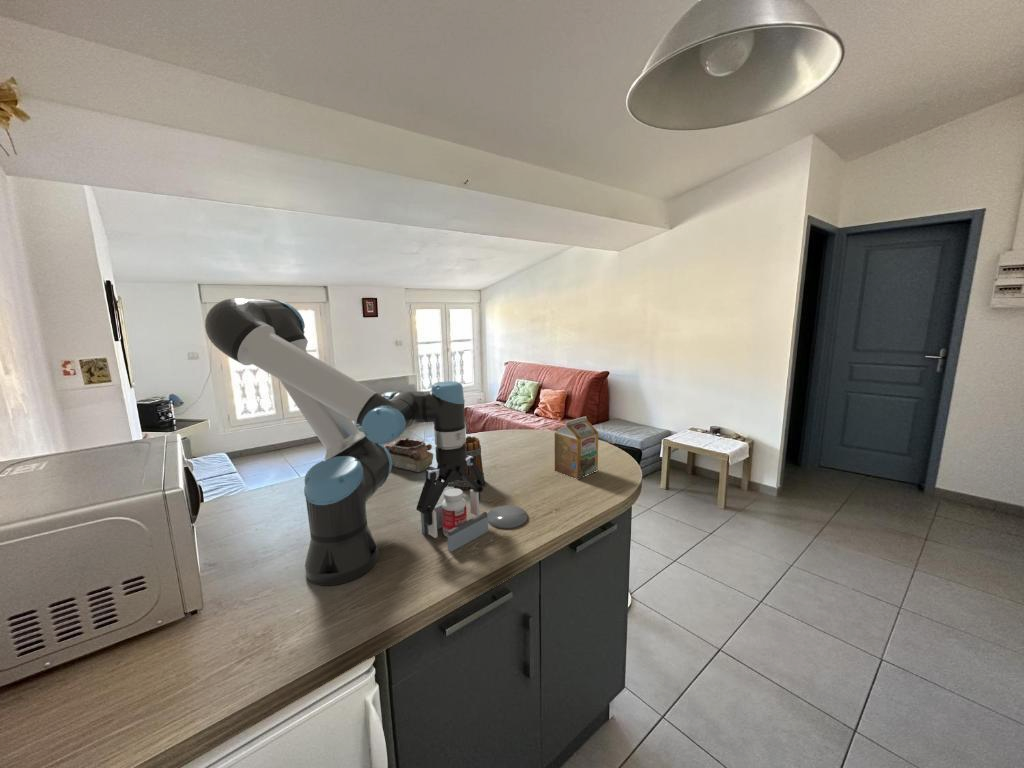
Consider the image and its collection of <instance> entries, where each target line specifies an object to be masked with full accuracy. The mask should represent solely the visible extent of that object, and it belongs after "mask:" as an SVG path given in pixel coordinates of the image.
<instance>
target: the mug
mask: <svg viewBox="0 0 1024 768" xmlns="http://www.w3.org/2000/svg"><path fill="white" fill-rule="evenodd" d="M480 443H481V441H480V439H479V438H478V437H476V436H468V435H467V436H466V442H465V443H464V444H465V445H466V453H467V455H469V456H472V457H475V458H476V465H477V467H478V469H479V470H480V472H481V474H482V476H483V478H484V479H485V473H484V469H483V468H484V467H483V461H482V445H481V444H480ZM465 471H466V472H467V473H468V474H469V476H470V477H471V478H472V479H473V480H474V481H475V479H474V477H473V475H472V473H471V471H470V469H469V468H468V466H467V465H466V468H465ZM475 482H476V481H475ZM452 485H453V487H455V488H456V489H461V490H462V491H470V490H471V489H472V490H473V488H471V487H470V486H469V485H468V484H467V483H466V482H465V481H464V480H463V479H462V478H460V479H459V480H455V481H454V482H452Z"/></svg>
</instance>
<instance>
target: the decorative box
mask: <svg viewBox="0 0 1024 768" xmlns="http://www.w3.org/2000/svg"><path fill="white" fill-rule="evenodd" d="M383 445H384V446H385V447H386V448H387V450H388V451H389V453H390V455H391V458H392V466H394V468H399V469H403V470H406V471H407V470H409V471H411V472H416V473H421V472H422V471H426V470H427V468H428V467H431V466H432V465H433V460H434V456H435V454H434V453H432V451H431V452H430V450H432V447H433V446H432V444H431V443H425V440H424V439H421V438H415V437H405V438H399V439H397V440H396V439H395V440H393V441H391V442H389V443H386V444H383Z"/></svg>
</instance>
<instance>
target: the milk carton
mask: <svg viewBox="0 0 1024 768" xmlns="http://www.w3.org/2000/svg"><path fill="white" fill-rule="evenodd" d="M564 425H565V426H562V427H560V428H558V429H556V431H555V432H554V472H556V471H557V473H558V474H561V473H562V474H561V475H564V474H565V475H564V476H566V475H568V476H570V477H569V478H571V477H573V478H576V479H578V478H581V477H583V476H585V475H587V474H590V473H592V472H594V471H596V470H599V465H598V464H599V462H598V461H599V432H598V431H597V429H596V428H595V426H594V425H592V423H590V421H588V418H587V416H582V417H578V418H575V419H571V420H567V421H565V424H564ZM568 476H567V477H568ZM573 478H572V479H573ZM576 479H575V480H576ZM581 479H582V478H581Z"/></svg>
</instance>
